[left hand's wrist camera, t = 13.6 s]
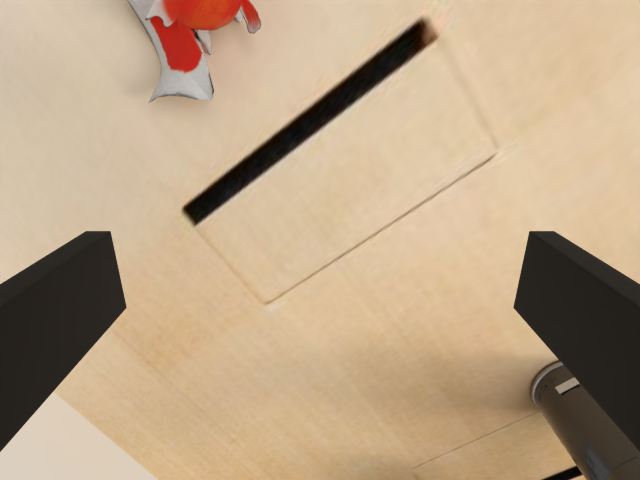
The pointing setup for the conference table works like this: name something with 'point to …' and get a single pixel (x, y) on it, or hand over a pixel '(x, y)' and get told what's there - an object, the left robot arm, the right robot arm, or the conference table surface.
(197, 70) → the fish
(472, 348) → the conference table surface
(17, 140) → the conference table surface
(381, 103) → the conference table surface
